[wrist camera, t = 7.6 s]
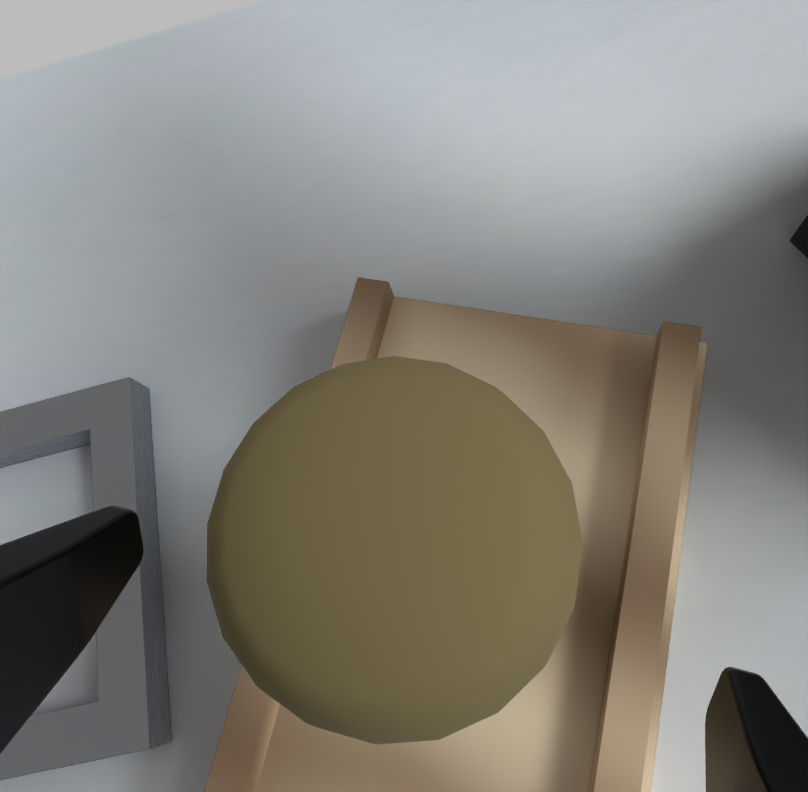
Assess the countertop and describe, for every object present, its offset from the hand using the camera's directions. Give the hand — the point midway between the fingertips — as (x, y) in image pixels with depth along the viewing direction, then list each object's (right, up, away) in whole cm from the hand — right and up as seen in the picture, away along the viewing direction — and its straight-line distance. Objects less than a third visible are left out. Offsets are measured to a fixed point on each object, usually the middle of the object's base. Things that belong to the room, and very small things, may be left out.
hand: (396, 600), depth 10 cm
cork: (+2, -2, +8) cm, 9 cm away
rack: (+2, -2, +9) cm, 10 cm away
